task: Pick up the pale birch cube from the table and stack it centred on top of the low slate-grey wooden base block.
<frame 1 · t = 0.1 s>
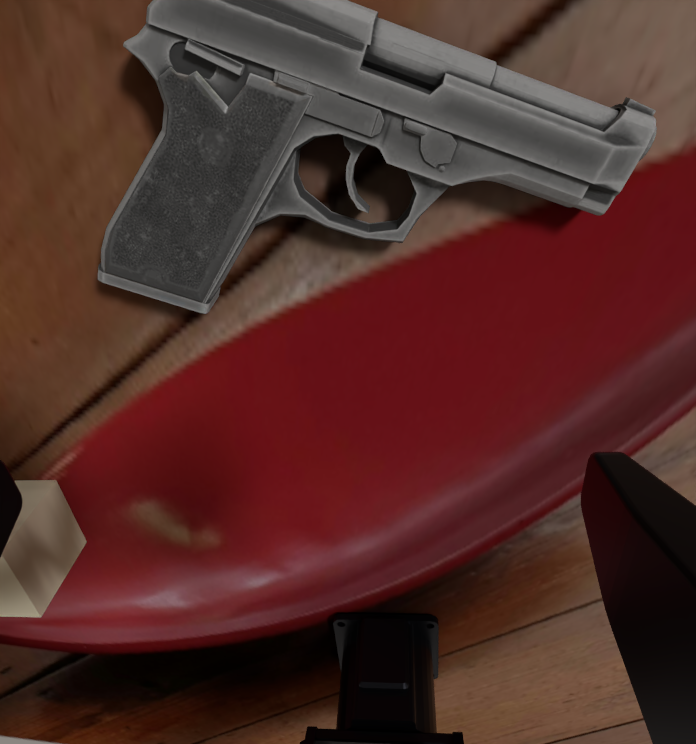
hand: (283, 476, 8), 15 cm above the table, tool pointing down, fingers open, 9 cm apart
cube: (32, 511, 31), on the table
handgun: (354, 186, 21), on the table
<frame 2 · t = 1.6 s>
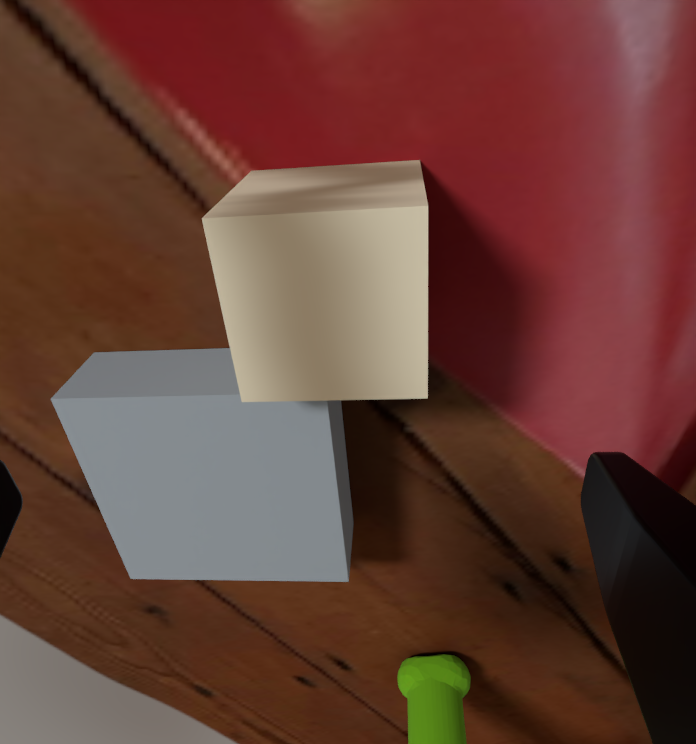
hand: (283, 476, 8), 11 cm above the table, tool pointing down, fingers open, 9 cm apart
base: (235, 445, 22), on the table
cube: (341, 246, 17), on the table
toy: (432, 657, 29), on the table
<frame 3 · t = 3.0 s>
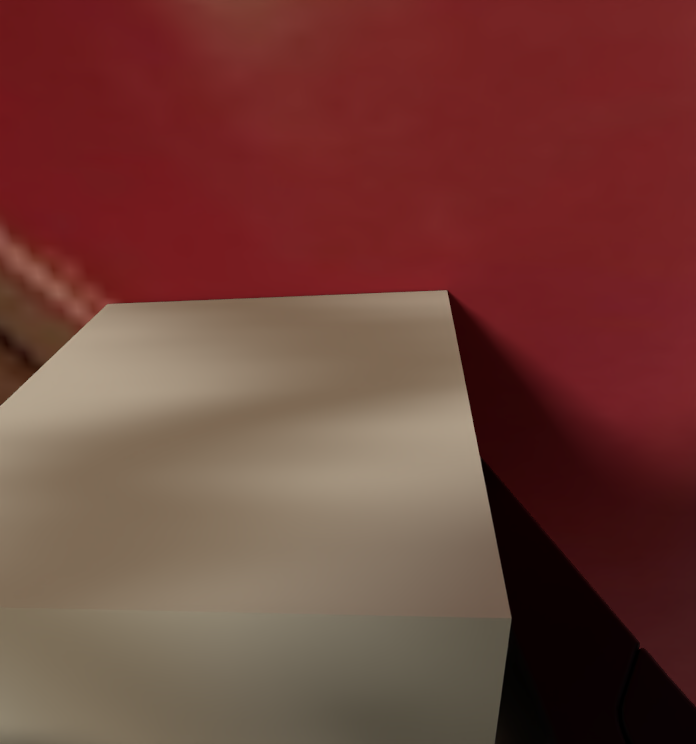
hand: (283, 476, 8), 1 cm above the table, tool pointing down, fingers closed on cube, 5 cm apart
cube: (294, 433, 9), on the table, touching gripper
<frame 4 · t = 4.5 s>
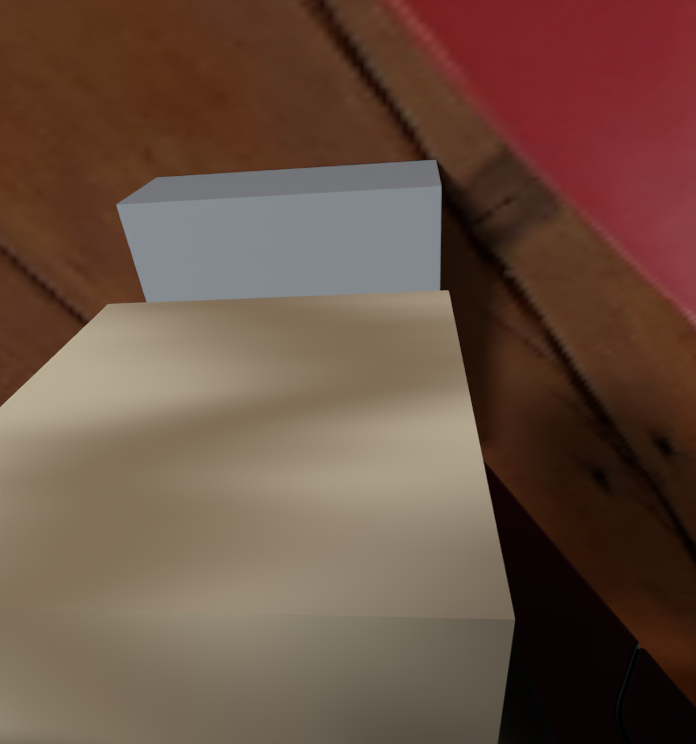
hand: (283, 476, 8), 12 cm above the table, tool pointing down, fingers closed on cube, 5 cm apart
base: (308, 298, 20), on the table
cube: (295, 433, 9), point 11 cm above the table, touching gripper
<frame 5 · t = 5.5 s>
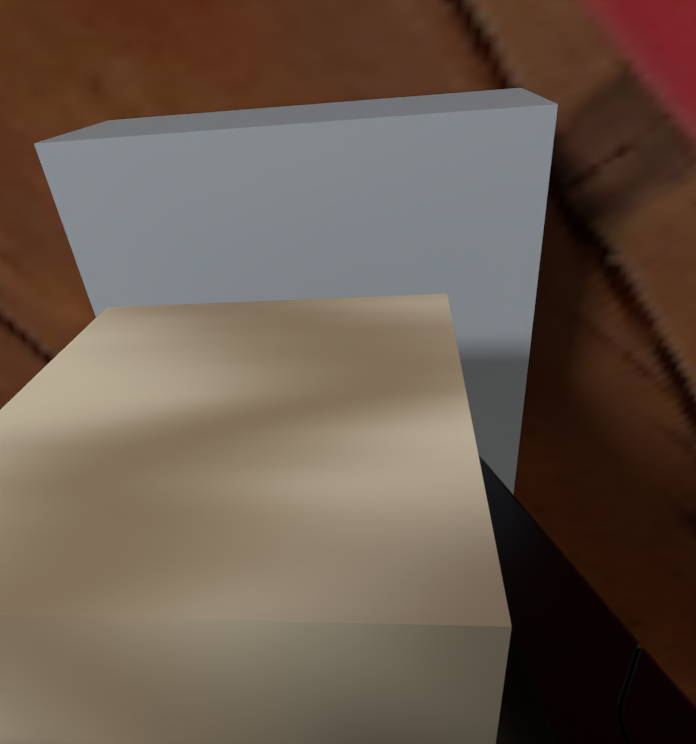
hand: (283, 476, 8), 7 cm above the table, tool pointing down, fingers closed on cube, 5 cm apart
base: (327, 296, 14), on the table
cube: (293, 436, 9), point 6 cm above the table, touching gripper
when the fingers open (5 cm above the table, at t = 6.2 s): cube stays where it is, resting on base.
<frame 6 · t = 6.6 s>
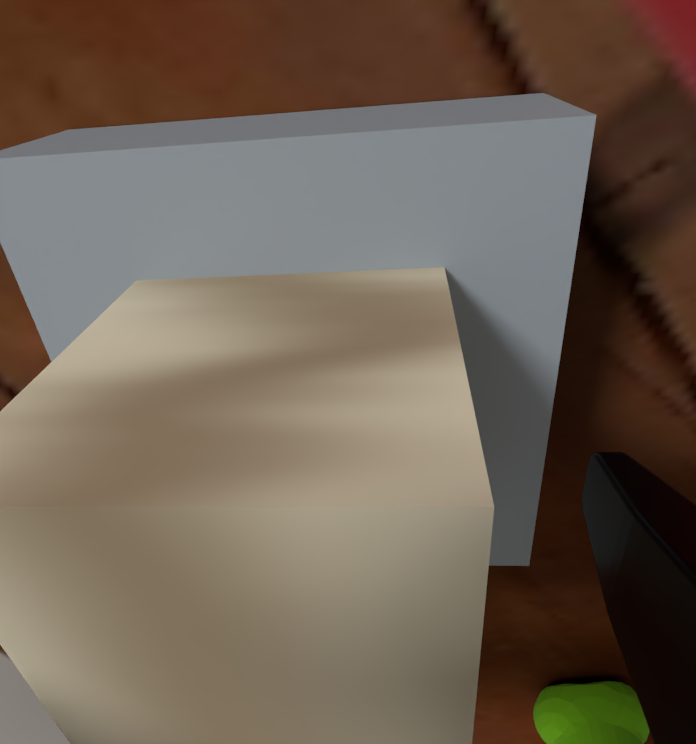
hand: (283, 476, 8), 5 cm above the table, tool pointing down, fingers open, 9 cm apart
base: (320, 326, 12), on the table
cube: (304, 402, 10), point 3 cm above the table, touching base
toy: (581, 683, 20), on the table
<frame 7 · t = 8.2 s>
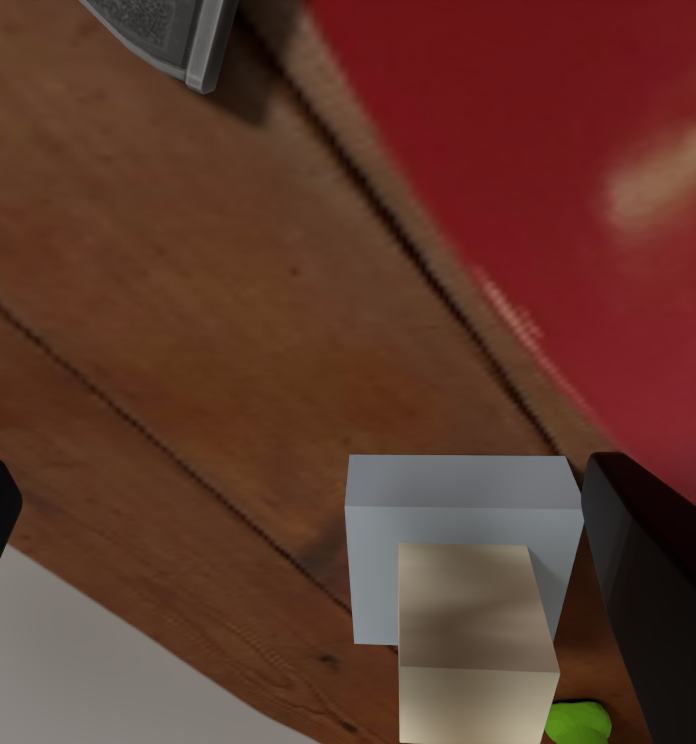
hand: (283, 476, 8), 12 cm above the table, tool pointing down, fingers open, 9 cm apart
base: (450, 529, 25), on the table
cube: (458, 584, 23), point 3 cm above the table, touching base
toy: (571, 702, 33), on the table
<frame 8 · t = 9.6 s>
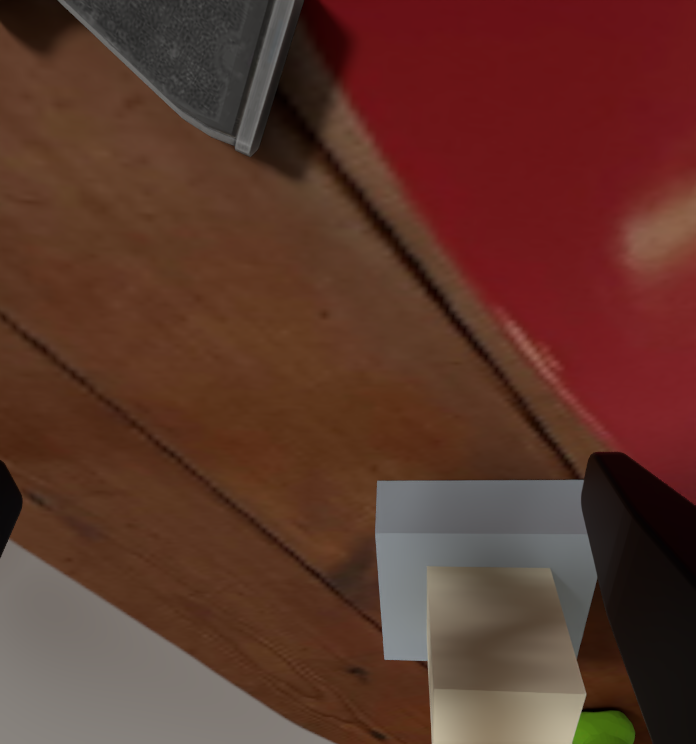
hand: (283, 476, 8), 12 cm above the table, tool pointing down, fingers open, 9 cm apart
base: (474, 549, 26), on the table
cube: (484, 604, 24), point 3 cm above the table, touching base
toy: (594, 710, 34), on the table
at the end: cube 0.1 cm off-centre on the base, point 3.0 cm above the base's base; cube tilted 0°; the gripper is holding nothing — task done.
